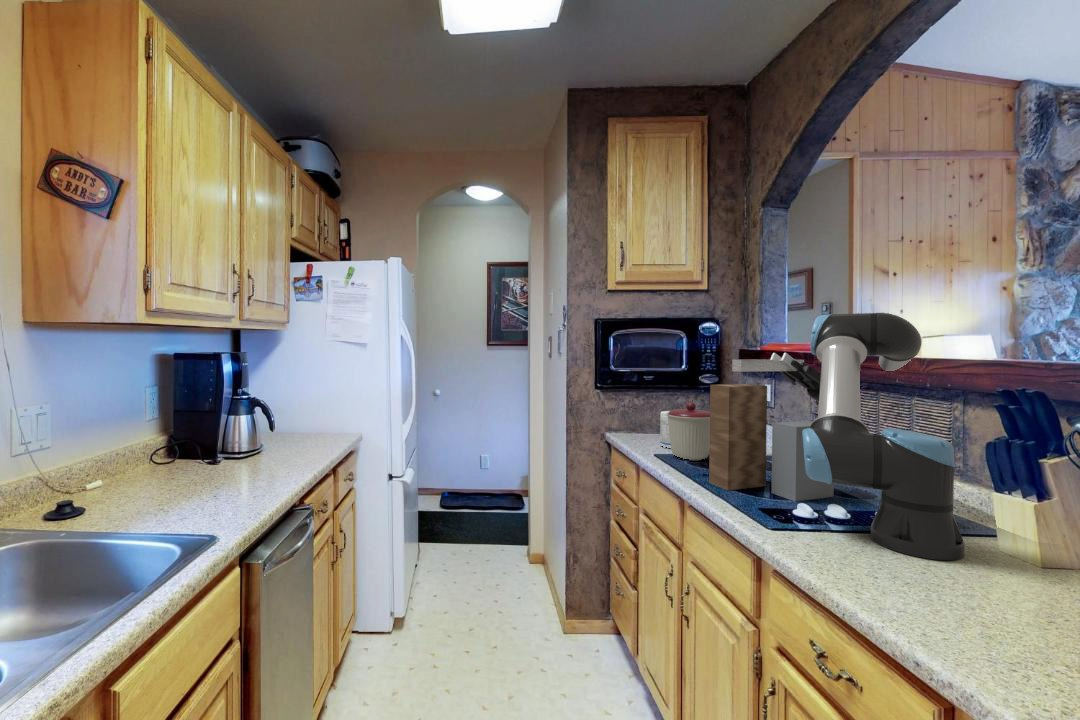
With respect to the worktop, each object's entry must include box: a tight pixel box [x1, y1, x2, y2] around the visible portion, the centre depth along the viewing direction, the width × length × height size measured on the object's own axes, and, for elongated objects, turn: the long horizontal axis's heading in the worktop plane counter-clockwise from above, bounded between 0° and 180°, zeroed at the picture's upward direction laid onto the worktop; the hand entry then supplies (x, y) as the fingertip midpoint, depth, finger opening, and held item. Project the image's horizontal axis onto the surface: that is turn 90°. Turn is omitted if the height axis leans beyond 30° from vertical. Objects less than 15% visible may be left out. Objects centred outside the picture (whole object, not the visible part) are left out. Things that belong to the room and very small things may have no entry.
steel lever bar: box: [731, 359, 805, 373], centre depth 144 cm, size 25×4×4 cm, turn 110°
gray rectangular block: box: [770, 420, 835, 502], centre depth 131 cm, size 14×8×20 cm, turn 110°
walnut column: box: [708, 383, 768, 491], centre depth 141 cm, size 14×8×30 cm, turn 110°
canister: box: [666, 401, 710, 461], centre depth 177 cm, size 18×18×21 cm
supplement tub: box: [659, 410, 671, 446], centre depth 197 cm, size 10×10×15 cm
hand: (778, 356), depth 146 cm, fingers closed on steel lever bar, 3 cm apart
